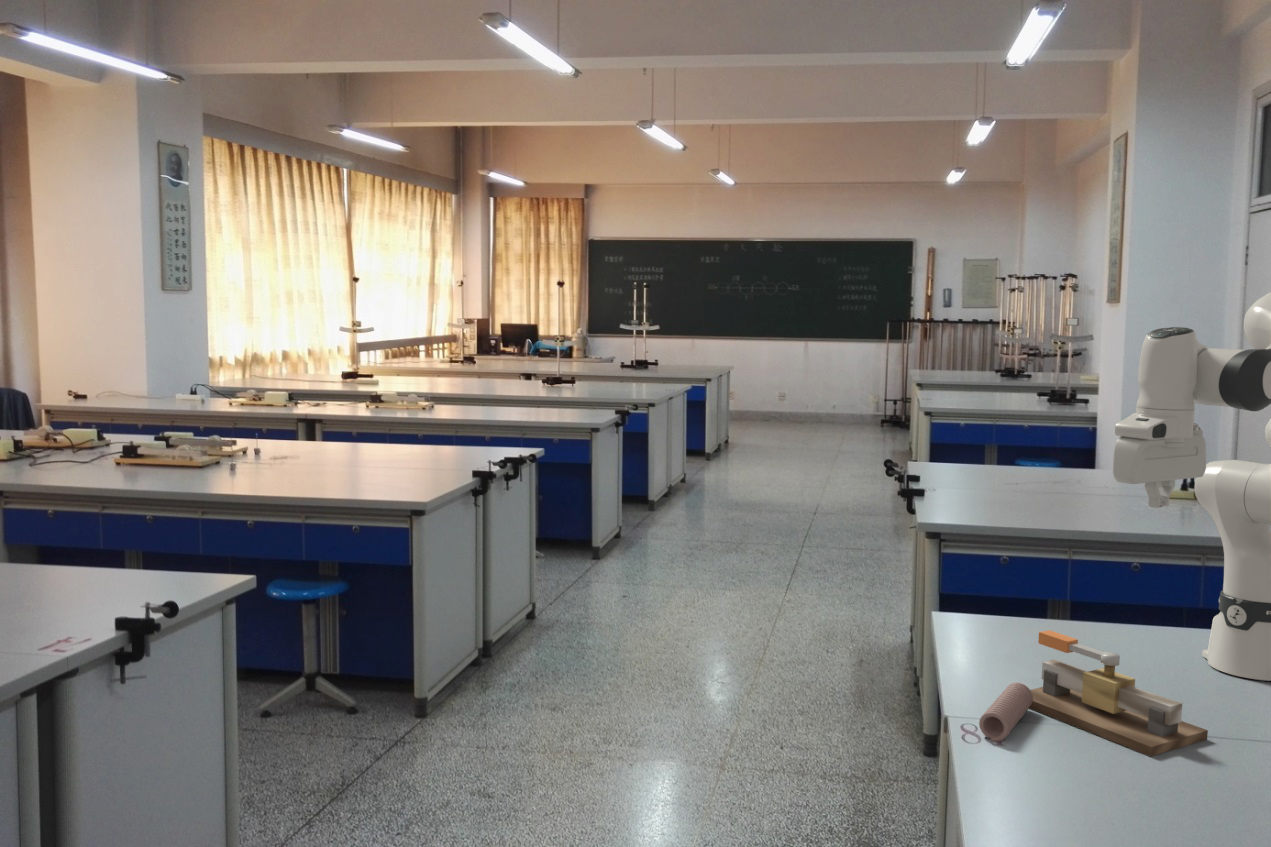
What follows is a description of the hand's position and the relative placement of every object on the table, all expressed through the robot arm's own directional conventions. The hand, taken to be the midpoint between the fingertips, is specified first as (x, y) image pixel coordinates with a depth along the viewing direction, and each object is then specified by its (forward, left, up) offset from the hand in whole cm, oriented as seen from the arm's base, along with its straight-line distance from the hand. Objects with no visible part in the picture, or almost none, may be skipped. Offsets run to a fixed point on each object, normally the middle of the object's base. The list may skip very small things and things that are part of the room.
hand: (1158, 506), depth 186 cm
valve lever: (+13, -4, -25) cm, 28 cm away
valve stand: (+13, +2, -34) cm, 37 cm away
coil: (+29, -5, -35) cm, 45 cm away
